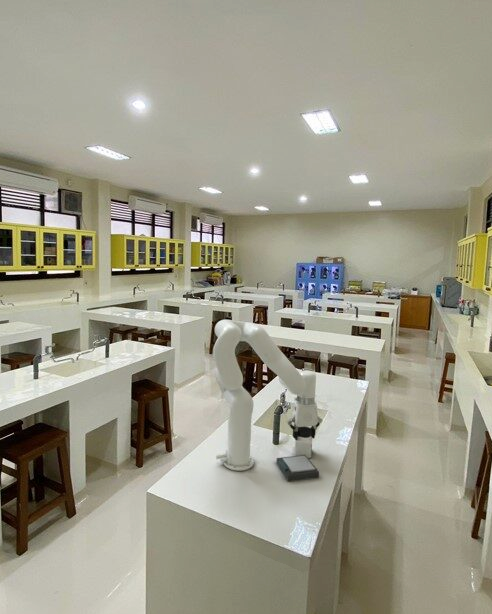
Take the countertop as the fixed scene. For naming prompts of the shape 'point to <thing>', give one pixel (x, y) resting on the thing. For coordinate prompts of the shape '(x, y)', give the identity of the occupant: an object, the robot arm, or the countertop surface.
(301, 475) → the lab scale
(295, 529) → the countertop surface
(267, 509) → the countertop surface
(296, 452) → the medicine bottle
